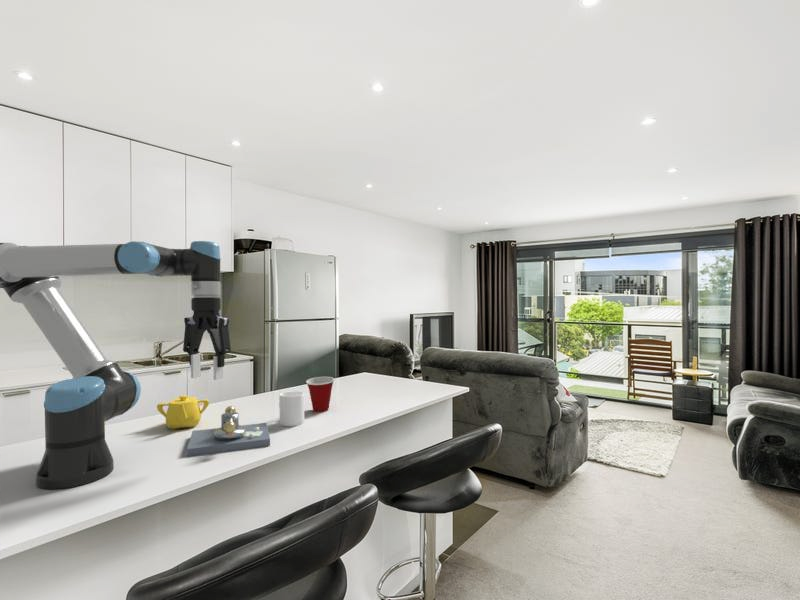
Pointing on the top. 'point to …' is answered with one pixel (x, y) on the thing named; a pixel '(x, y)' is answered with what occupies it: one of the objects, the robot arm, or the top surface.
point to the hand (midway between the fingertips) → (207, 377)
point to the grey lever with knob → (229, 425)
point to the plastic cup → (320, 392)
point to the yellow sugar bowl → (183, 411)
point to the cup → (291, 408)
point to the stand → (228, 440)
